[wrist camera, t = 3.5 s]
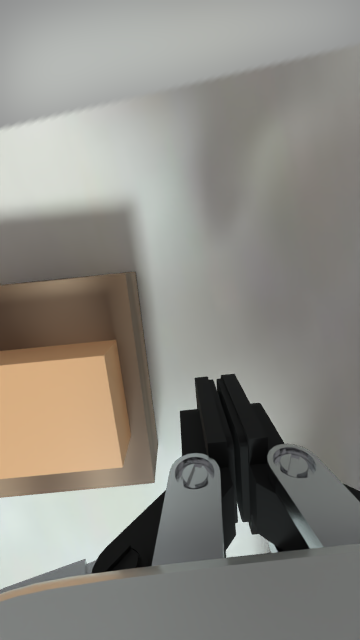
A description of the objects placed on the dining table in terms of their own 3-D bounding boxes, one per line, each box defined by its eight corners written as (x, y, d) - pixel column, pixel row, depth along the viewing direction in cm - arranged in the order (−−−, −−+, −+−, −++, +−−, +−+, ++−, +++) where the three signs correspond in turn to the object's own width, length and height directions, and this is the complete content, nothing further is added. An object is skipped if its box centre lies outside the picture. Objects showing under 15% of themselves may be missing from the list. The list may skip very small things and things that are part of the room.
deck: (135, 271, 17) (125, 273, 14) (157, 444, 20) (154, 482, 16) (-63, 290, 17) (-122, 297, 14) (-13, 461, 20) (-52, 502, 16)
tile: (116, 339, 14) (103, 355, 12) (131, 435, 16) (122, 467, 13) (-47, 355, 14) (-93, 374, 12) (-19, 449, 16) (-54, 484, 13)
